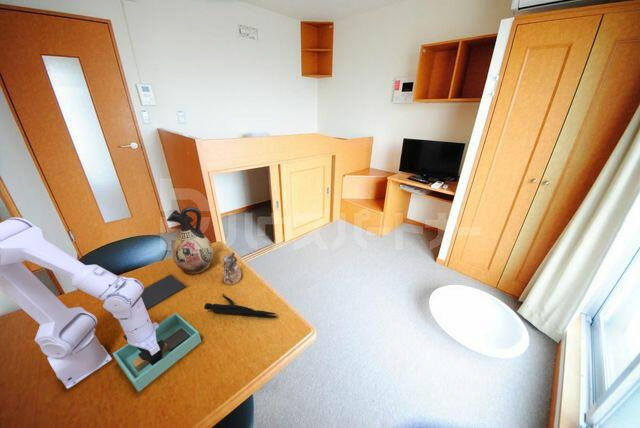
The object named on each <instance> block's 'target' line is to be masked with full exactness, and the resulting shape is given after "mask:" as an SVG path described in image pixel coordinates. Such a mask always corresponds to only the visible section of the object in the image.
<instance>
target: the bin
mask: <svg viewBox="0 0 640 428" xmlns="http://www.w3.org/2000/svg"><path fill="white" fill-rule="evenodd" d="M157 324H158V325H159V327H158V328H157V329H156V330H155V331H156V340H157V342H159V341H160V340H161V339H162V340H163V341H164V340H165V339H167V338H168V337H169V336H171V335H172V334H174V333H175V332H177V331H178V330H179V329H181V328H182V329H184V330H185V331H186V332H187V333H188V334H189V335H190V338H188V339H187V340H186V341H184V342H183V343H182V344H180V345H179V346H178V347H176V348H175V349H174V350H172V351H170V350H168V351H166V352H165V353H164V354H162V359H161V360H159V361H158V362H157V363H156V364H154V365H153V366H152V365H151V364H149V365H148V366H146V367H145V368H144V369H142V370H141V371H140V372H137V370H136V369H135V368H134V366H133V364H132V361H134V360H135V359H137V358H138V357H139V355H138V354H139V353H141V351H140V350H139V349H138V348H137V347H135V346H132V345H130V344H129V343H128V342H127V344H125V345H123V346H121V347H120V348H119V349H117V350H116V351H114V352H112V355H113V357H114V359H115V361H116V363H117V365H118V366H119V367H120V369H121V370H122V371H123V373H124V375H126V377H127V378H128V380H129V381H130V383H131V384H132V385H133V387H134V388H135V390H136V391H137V392H138V393H139V392H141V391H142V390H143V389H144V388H145V387H146V386H148V385H149V384H151V383H152V382H153V381H154V380H155V379H157V378H158V377H159V376H161V375H162V374H163V373H164V372H166V371H167V370H168V369H170V367H172V366H173V365H174V364H176V362H178V361H179V360H180V359H182V358H183V357H184V356H186V355H187V354H188V353H189V352H190V351H191V350H193V349H194V348H195V347H197V346H198V345H199V344H200V343H201V342H202V338H201V335H200V332H199V331H198V330H197V329H196V328H194V327H193V325H191V324H190V323H189V322H188V321H186V319H184V318H183V317H182V316H180V314H178V312H174V313H172V314H171V315H169V316H168V317H167V318H165V319H163V320H162V321H161V322H159V323H157Z"/></svg>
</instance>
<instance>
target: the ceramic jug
mask: <svg viewBox="0 0 640 428" xmlns="http://www.w3.org/2000/svg"><path fill="white" fill-rule="evenodd" d="M188 213H193V214H195V215H196V223H195V227H194V226H193V224H191V223H193V222H194V219H193V217H191V216H190V215H188ZM166 222H170V223H177V224H179V225H180V231H179V232H178V235H177V236H176V239H175V241H174V244H173V248H172V258H173V261H174V264H175V265H176V266H177V268H179V269H180V270H182V271H185V272H186V273H187V274H190V275H196V274H200V273H202V272H204V271H206V270H207V269H208V268H209V267H210V263H211V261H212V260H213V258H214V248H213V245H212V243H211V241H210V239H209V238H208V237H207V236H206V235H204V232H203V231H202V230H201V222H202V213H201V211H200V209H199V208H198V207H195V206H187V207H185V208H183V209H182V211H181V212H180V211H179V210H178V209H175V210H174V211H172V213H171V214H170V215H168V217H167V219H166Z"/></svg>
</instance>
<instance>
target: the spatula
mask: <svg viewBox="0 0 640 428" xmlns="http://www.w3.org/2000/svg"><path fill="white" fill-rule="evenodd" d="M188 338H190V335H189V334H188V333H187V332H186V331H185V330H184V329H182V328H181V329H179V330H178V331H177V332H175V333H174V334H172V335H171V336H169V337H168V338H167V339H165V340H164V342H165V346H164V348H163V351H162V354H164V353H165V352H166V351H168V350H170V351H172V350H174V349H175V348H176V347H178V346H179V345H180V344H182V343H183V342H184V341H186V340H187V339H188ZM132 364H133V366H134V368H135V369H136V370H137V372H140V371H141V370H142V369H144V368H145V367H146V366H148V365H149V364H150V363H149V362H148V361H146V360H142V359H141V358H140V357H138V358H137V359H135V360H134V361H132Z"/></svg>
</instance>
